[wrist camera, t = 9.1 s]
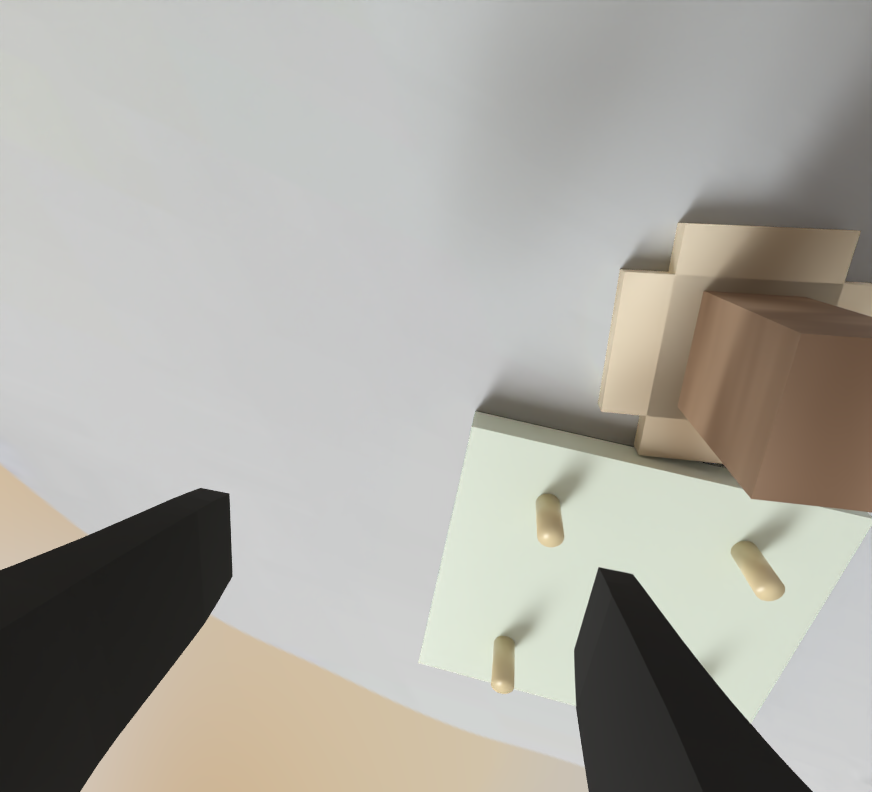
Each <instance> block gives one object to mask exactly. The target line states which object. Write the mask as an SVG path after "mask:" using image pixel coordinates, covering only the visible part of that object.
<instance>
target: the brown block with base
mask: <svg viewBox="0 0 872 792" xmlns="http://www.w3.org/2000/svg"><path fill="white" fill-rule="evenodd" d="M860 232H861V231H856V230H837V229H814V228H790V227H767V226H743V225H720V224H697V223H678V224H677V229H676V234H675V240H674V245H673V250H672V255H671V260H670V265H669V270H668V272H666V271H648V270H629V269H620V273H619V279H618V285H617V291H616V297H615V303H614V309H613V315H612V321H611V327H610V333H609V339H608V345H607V352H606V358H605V364H604V370H603V376H602V382H601V388H600V394H599V400H598V405H599V407H600V410H601V412H610V413H620V414H631V415H639V420H638V425H637V430H636V435H635V440H634V447H635V449H636V451H637V453H638V455H643V456H653V457H663V458H672V459H682V460H692V461H701V462H711V463H721V464H724V466H725V467H726V468H727V469H728V471H729V472H730V473H731V474H732V476H733V477H734V478H735V479H736V481H737V482H738V483H739V485H740V486H741V487H742V488H743V490H744V491H745V492H746V493H747V495H748V496H749V497H750V498H751V499H756V500H765V501H774V502H783V503H792V504H801V505H810V506H819V507H828V508H837V509H846V510H855V511H863V512H872V283H864V282H846V281H845V279H846V276H847V273H848V269H849V266H850V263H851V260H852V257H853V254H854V251H855V248H856V245H857V242H858V239H859V236H860Z"/></svg>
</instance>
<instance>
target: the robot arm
mask: <svg viewBox="0 0 872 792" xmlns="http://www.w3.org/2000/svg"><path fill="white" fill-rule="evenodd" d="M231 578H232V552H231V526H230V499H229V494H228V493H223V492H218V491H213V490H208V489H203V488H199V489H197V490H194V491H191V492H188V493H186V494H183V495H181V496H178V497H176V498H173V499H171V500H169V501H166V502H164V503H162V504H159V505H157V506H155V507H152V508H150V509H148V510H146V511H143V512H141V513H139V514H136V515H134V516H132V517H130V518H127V519H125V520H123V521H120V522H118V523H116V524H113V525H111V526H109V527H106V528H104V529H102V530H100V531H97V532H95V533H93V534H90V535H88V536H86V537H83V538H81V539H78V540H76V541H73V542H71V543H69V544H66V545H64V546H61V547H58V548H56V549H53V550H51V551H48V552H46V553H43V554H41V555H38V556H36V557H33V558H31V559H28V560H26V561H23V562H21V563H18V564H16V565H13V566H10V567H8V568H5V569H2V570H0V792H80V791H81V789H82V788H83V786H84V785H85V783H86V782H87V780H88V778H89V777H90V776H91V774H92V773H93V771H94V769H95V768H96V766H97V765H98V763H99V762H100V761H101V759H102V758H103V756H104V755H105V754H106V752H107V751H108V750H109V748H110V747H111V745H112V744H113V743H114V741H115V740H116V738H117V737H118V736H119V734H120V733H121V732H122V731H123V729H124V728H125V727H126V725H127V724H128V723H129V721H130V720H131V719H132V718H133V716H134V715H135V714H136V712H137V711H138V710H139V708H140V707H141V706H142V704H143V703H144V702H145V701H146V699H147V698H148V697H149V696H150V694H151V693H152V692H153V690H154V689H155V688H156V687H157V685H158V684H159V683H160V681H161V680H162V679H163V677H164V676H165V675H166V674H167V672H168V671H169V670H170V668H171V667H172V666H173V665H174V663H175V662H176V661H177V659H178V658H179V657H180V655H181V654H182V653H183V651H184V650H185V649H186V647H187V646H188V645H189V644H190V642H191V641H192V640H193V638H194V637H195V636H196V634H197V633H198V632H199V630H200V629H201V627H202V626H203V625H204V623H205V622H206V620H207V619H208V617H209V615H210V614H211V612H212V610H213V609H214V607H215V606H216V604H217V602H218V601H219V599H220V597H221V595H222V594H223V592H224V590H225V588H226V587H227V585H228V583H229V581H230V580H231ZM574 668H575V693H576V710H577V717H578V724H579V731H580V737H581V744H582V751H583V757H584V764H585V770H586V776H587V783H588V789H589V792H813V791H812V790H811V789H810V788H809V787H808V786H807V785H806V784H805V783H804V782H803V781H802V780H801V779H800V778H799V777H798V776H797V775H796V774H795V773H794V772H793V771H792V769H791V768H790V767H789V766H788V765H787V764H786V763H785V762H784V761H783V760H782V759H781V757H780V756H779V755H778V754H777V753H776V752H775V751H774V750H773V749H772V748H771V746H770V745H769V744H768V743H767V742H766V741H765V740H764V738H763V737H762V736H761V735H760V734H759V733H758V732H757V730H756V729H755V728H754V727H753V726H752V725H751V723H750V722H749V721H748V720H747V719H746V718H745V717H744V715H743V714H742V713H741V712H740V711H739V710H738V708H737V707H736V706H735V705H734V704H733V703H732V701H731V700H730V699H729V698H728V697H727V695H726V694H725V693H724V692H723V690H722V689H721V688H720V687H719V686H718V684H717V683H716V682H715V681H714V680H713V678H712V677H711V676H710V675H709V673H708V672H707V671H706V670H705V668H704V667H703V666H702V665H701V663H700V662H699V661H698V659H697V658H696V657H695V656H694V654H693V653H692V652H691V650H690V649H689V648H688V647H687V645H686V644H685V643H684V641H683V640H682V639H681V637H680V636H679V635H678V634H677V632H676V631H675V630H674V628H673V627H672V626H671V624H670V623H669V622H668V620H667V619H666V618H665V616H664V615H663V614H662V612H661V611H660V610H659V608H658V607H657V605H656V604H655V603H654V601H653V600H652V599H651V597H650V596H649V595H648V593H647V592H646V591H645V589H644V588H643V587H642V585H641V584H640V583H639V581H638V580H637V579H636V577H635V576H634V575H633V574H631V573H626V572H621V571H616V570H611V569H606V568H601V567H598V571H597V574H596V577H595V581H594V584H593V587H592V591H591V594H590V598H589V601H588V604H587V608H586V611H585V614H584V618H583V621H582V625H581V628H580V631H579V635H578V638H577V642H576V645H575V648H574Z"/></svg>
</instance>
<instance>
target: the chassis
mask: <svg viewBox="0 0 872 792" xmlns="http://www.w3.org/2000/svg"><path fill="white" fill-rule="evenodd" d="M871 526H872V516H871V515H869V514H868V513H867V512H863V511H855V510H846V509H837V508H828V507H819V506H810V505H801V504H792V503H783V502H774V501H765V500H756V499H751V498H750V497H749V496H748V495H747V493H746V492H745V491H744V490H743V488H742V487H741V486H740V485H739V483H738V482H737V481H736V479H735V478H734V477H733V476H732V474H731V473H730V472H729V471H728V469H727V468H723V467H718V466H714V465H710V464H705V463H701V462H696V461H692V460H682V459H672V458H663V457H653V456H643V455H638V453H637V451H636V449H635V447H631V446H626V445H622V444H617V443H613V442H609V441H604V440H600V439H595V438H591V437H587V436H582V435H578V434H573V433H569V432H565V431H560V430H556V429H552V428H547V427H543V426H538V425H534V424H530V423H525V422H521V421H516V420H512V419H508V418H503V417H499V416H494V415H490V414H486V413H481V412H477V411H475V415H474V419H473V424H472V428H471V433H470V437H469V442H468V446H467V450H466V455H465V459H464V464H463V468H462V472H461V477H460V481H459V486H458V490H457V494H456V499H455V503H454V508H453V512H452V516H451V521H450V525H449V530H448V534H447V538H446V543H445V547H444V552H443V556H442V560H441V565H440V569H439V574H438V578H437V582H436V587H435V591H434V596H433V600H432V604H431V609H430V613H429V618H428V622H427V626H426V631H425V635H424V640H423V644H422V649H421V653H420V657H419V662H418V663H420V664H423V665H427V666H431V667H434V668H438V669H442V670H445V671H449V672H453V673H456V674H460V675H464V676H467V677H471V678H475V679H478V680H482V681H486V682H489V683H491V686H492V688H493V689H494V690H495V691H496V692H498V693H502V694H507V693H510V692H512V691H513V689H515V690H519V691H522V692H526V693H530V694H533V695H537V696H541V697H544V698H548V699H552V700H555V701H559V702H562V703H566V704H570V705H573V706H576V693H575V668H574V648H575V645H576V642H577V638H578V635H579V631H580V628H581V625H582V621H583V618H584V614H585V611H586V608H587V604H588V601H589V598H590V594H591V591H592V587H593V584H594V581H595V577H596V574H597V571H598V567H601V568H606V569H611V570H616V571H621V572H626V573H631V574H633V575H634V576H635V577H636V579H637V580H638V581H639V583H640V584H641V585H642V587H643V588H644V589H645V591H646V592H647V593H648V595H649V596H650V597H651V599H652V600H653V601H654V603H655V604H656V605H657V607H658V608H659V610H660V611H661V612H662V614H663V615H664V616H665V618H666V619H667V620H668V622H669V623H670V624H671V626H672V627H673V628H674V630H675V631H676V632H677V634H678V635H679V636H680V637H681V639H682V640H683V641H684V643H685V644H686V645H687V647H688V648H689V649H690V650H691V652H692V653H693V654H694V656H695V657H696V658H697V659H698V661H699V662H700V663H701V665H702V666H703V667H704V668H705V670H706V671H707V672H708V673H709V675H710V676H711V677H712V678H713V680H714V681H715V682H716V683H717V684H718V686H719V687H720V688H721V689H722V690H723V692H724V693H725V694H726V695H727V697H728V698H729V699H730V700H731V701H732V703H733V704H734V705H735V706H736V707H737V708H738V710H739V711H740V712H741V713H742V714H743V715H744V717H745V718H746V719H747V720H748V721H749V722H750V723H751V722H752V721H753V719H754V718H755V716H756V714H757V713H758V711H759V709H760V708H761V706H762V704H763V703H764V701H765V700H766V698H767V696H768V695H769V693H770V691H771V690H772V688H773V686H774V685H775V683H776V681H777V680H778V678H779V677H780V675H781V673H782V672H783V670H784V668H785V667H786V665H787V663H788V662H789V660H790V659H791V657H792V655H793V654H794V652H795V650H796V649H797V647H798V645H799V644H800V642H801V641H802V639H803V637H804V636H805V634H806V632H807V631H808V629H809V627H810V626H811V624H812V622H813V621H814V619H815V618H816V616H817V614H818V613H819V611H820V609H821V608H822V606H823V604H824V603H825V601H826V600H827V598H828V596H829V595H830V593H831V591H832V590H833V588H834V586H835V585H836V583H837V581H838V580H839V578H840V577H841V575H842V573H843V572H844V570H845V568H846V567H847V565H848V563H849V562H850V560H851V559H852V557H853V555H854V554H855V552H856V550H857V549H858V547H859V545H860V544H861V542H862V540H863V539H864V537H865V536H866V534H867V532H868V531H869V529H870V527H871Z"/></svg>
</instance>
